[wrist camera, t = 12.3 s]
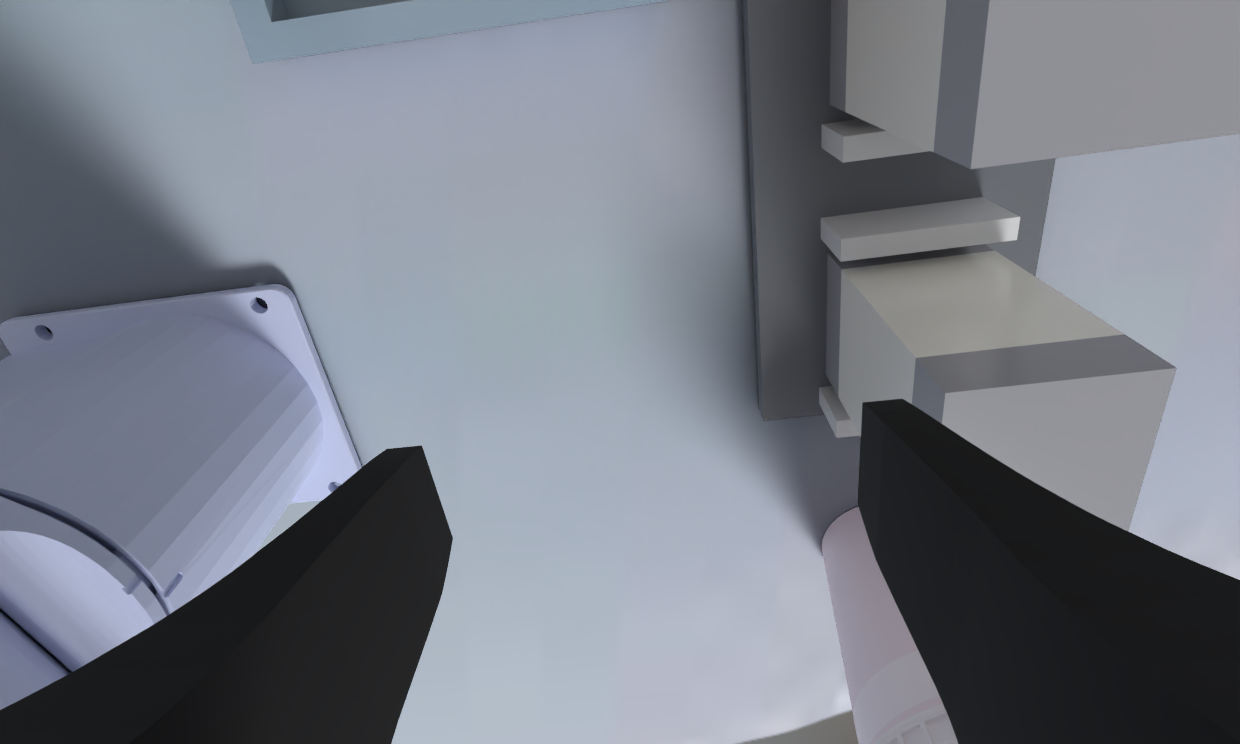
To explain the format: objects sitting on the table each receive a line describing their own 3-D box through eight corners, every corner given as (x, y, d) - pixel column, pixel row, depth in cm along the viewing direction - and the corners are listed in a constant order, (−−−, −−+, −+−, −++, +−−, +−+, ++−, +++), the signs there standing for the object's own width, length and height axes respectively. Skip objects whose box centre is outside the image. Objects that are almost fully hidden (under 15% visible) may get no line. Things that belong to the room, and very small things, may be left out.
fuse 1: (829, 104, 17) (970, 169, 10) (832, -80, 15) (1007, -156, 8) (988, 82, 17) (1247, 132, 10) (1010, -108, 15) (1348, -212, 8)
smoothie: (771, 596, 27) (896, 1094, 14) (805, 467, 24) (1000, 958, 11) (928, 606, 27) (1182, 1105, 15) (981, 479, 24) (1360, 975, 12)
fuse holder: (759, 408, 23) (775, 456, 20) (713, -699, 12) (737, -886, 9) (1002, 381, 22) (1050, 428, 20) (1191, -805, 11) (1350, -1036, 9)
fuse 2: (825, 374, 21) (927, 557, 14) (827, 252, 19) (945, 393, 12) (955, 359, 21) (1126, 538, 14) (970, 235, 19) (1177, 368, 12)
